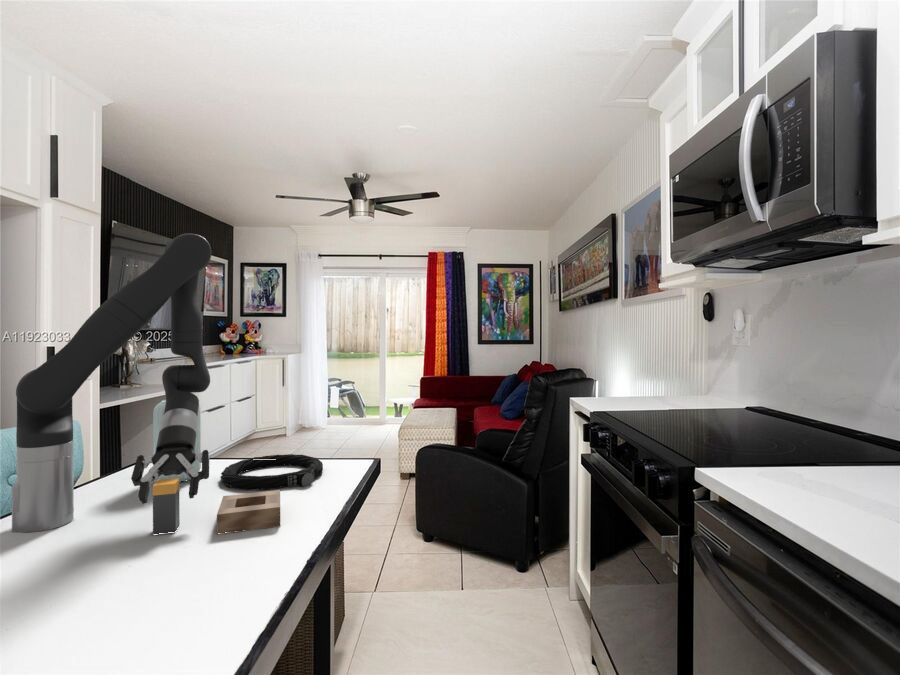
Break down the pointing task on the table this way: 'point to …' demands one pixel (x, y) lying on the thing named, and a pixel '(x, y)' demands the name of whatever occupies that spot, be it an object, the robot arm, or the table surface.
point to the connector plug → (166, 506)
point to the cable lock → (272, 481)
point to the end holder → (249, 511)
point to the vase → (157, 420)
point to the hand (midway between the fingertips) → (167, 499)
